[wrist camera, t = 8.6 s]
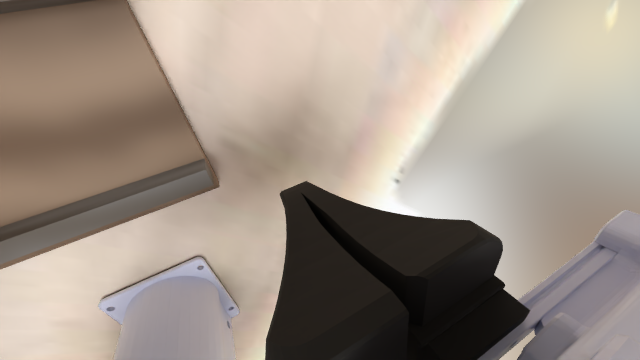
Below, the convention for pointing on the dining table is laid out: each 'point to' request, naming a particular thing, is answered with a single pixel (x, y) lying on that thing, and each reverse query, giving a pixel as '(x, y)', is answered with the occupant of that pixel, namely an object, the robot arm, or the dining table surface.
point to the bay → (85, 126)
